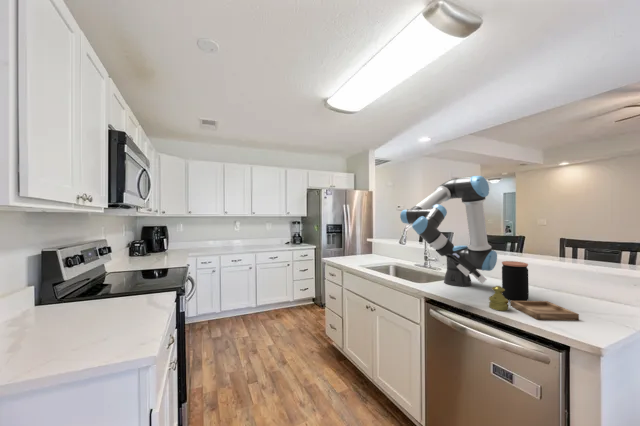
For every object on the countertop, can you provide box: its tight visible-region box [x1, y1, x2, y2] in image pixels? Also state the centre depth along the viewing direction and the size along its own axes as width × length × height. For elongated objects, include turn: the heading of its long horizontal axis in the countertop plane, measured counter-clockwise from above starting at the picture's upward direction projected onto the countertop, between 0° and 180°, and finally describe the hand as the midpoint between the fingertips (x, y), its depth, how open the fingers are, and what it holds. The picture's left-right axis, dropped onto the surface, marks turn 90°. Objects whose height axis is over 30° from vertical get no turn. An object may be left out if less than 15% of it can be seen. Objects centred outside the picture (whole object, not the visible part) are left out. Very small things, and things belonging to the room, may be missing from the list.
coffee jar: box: [501, 260, 530, 302], centre depth 133 cm, size 11×11×18 cm
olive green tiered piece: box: [488, 285, 510, 312], centre depth 120 cm, size 7×7×10 cm
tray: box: [510, 300, 580, 321], centre depth 114 cm, size 16×16×2 cm
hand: (475, 277), depth 120 cm, fingers open, 13 cm apart
